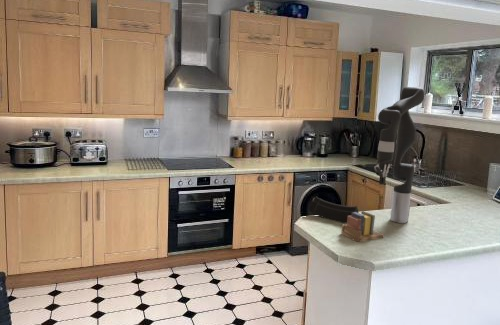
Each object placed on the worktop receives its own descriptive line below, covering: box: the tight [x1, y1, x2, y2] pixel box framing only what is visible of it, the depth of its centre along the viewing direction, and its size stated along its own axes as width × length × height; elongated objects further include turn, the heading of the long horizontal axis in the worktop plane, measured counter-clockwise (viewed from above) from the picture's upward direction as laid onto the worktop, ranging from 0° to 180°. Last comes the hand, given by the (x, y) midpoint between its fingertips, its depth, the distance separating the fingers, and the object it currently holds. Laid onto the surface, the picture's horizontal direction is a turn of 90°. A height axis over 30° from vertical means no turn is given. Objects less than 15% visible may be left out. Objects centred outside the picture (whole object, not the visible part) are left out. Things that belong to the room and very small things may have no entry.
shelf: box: [340, 212, 384, 243], centre depth 209 cm, size 17×12×12 cm
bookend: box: [360, 210, 376, 235], centre depth 210 cm, size 1×8×10 cm, turn 29°
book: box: [362, 214, 371, 235], centre depth 209 cm, size 4×6×9 cm, turn 29°
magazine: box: [307, 196, 359, 224], centre depth 232 cm, size 17×3×30 cm
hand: (382, 184), depth 210 cm, fingers closed
